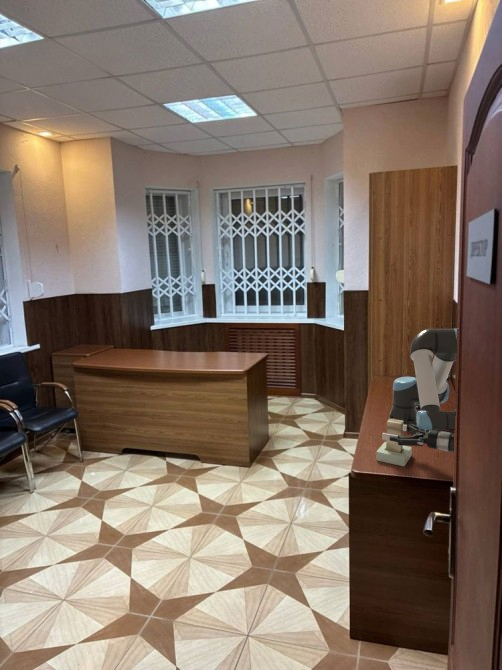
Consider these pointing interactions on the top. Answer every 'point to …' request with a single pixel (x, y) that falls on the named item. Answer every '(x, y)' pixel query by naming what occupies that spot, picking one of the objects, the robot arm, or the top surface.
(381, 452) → the end cap
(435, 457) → the top surface
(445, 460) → the top surface
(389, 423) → the wooden block
